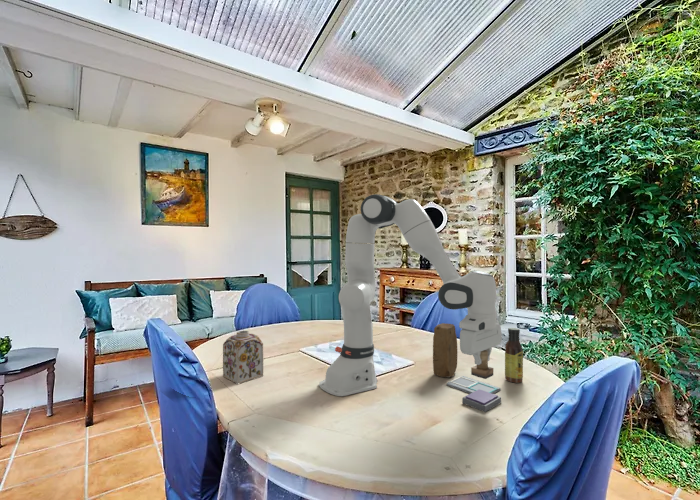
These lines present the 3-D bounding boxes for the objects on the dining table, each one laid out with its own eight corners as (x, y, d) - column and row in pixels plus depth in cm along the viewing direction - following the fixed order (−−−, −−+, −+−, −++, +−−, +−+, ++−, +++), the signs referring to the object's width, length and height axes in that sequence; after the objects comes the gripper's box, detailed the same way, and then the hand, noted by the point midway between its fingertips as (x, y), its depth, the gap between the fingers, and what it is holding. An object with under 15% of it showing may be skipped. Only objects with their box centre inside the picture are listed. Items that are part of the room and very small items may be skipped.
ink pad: (485, 412, 107) (485, 404, 107) (462, 403, 113) (462, 396, 113) (501, 402, 114) (501, 395, 114) (478, 394, 120) (478, 388, 120)
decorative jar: (222, 377, 137) (221, 331, 137) (248, 369, 145) (248, 326, 145) (237, 385, 129) (237, 337, 129) (264, 376, 137) (264, 331, 137)
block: (448, 380, 133) (448, 328, 133) (430, 375, 138) (430, 325, 138) (459, 372, 141) (459, 323, 141) (442, 368, 146) (442, 320, 146)
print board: (484, 398, 117) (484, 395, 117) (446, 385, 128) (446, 382, 128) (500, 390, 124) (500, 387, 124) (463, 377, 135) (463, 375, 135)
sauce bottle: (521, 385, 128) (522, 331, 128) (503, 381, 131) (503, 329, 131) (523, 379, 133) (523, 328, 133) (506, 376, 137) (506, 326, 136)
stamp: (485, 379, 110) (485, 354, 110) (471, 374, 114) (471, 350, 114) (493, 375, 113) (493, 351, 113) (479, 371, 117) (479, 347, 117)
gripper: (489, 314, 122) (489, 353, 122) (456, 323, 109) (456, 367, 109) (506, 317, 117) (506, 358, 118) (474, 327, 104) (474, 372, 104)
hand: (482, 362), depth 113 cm, fingers closed on stamp, 3 cm apart
